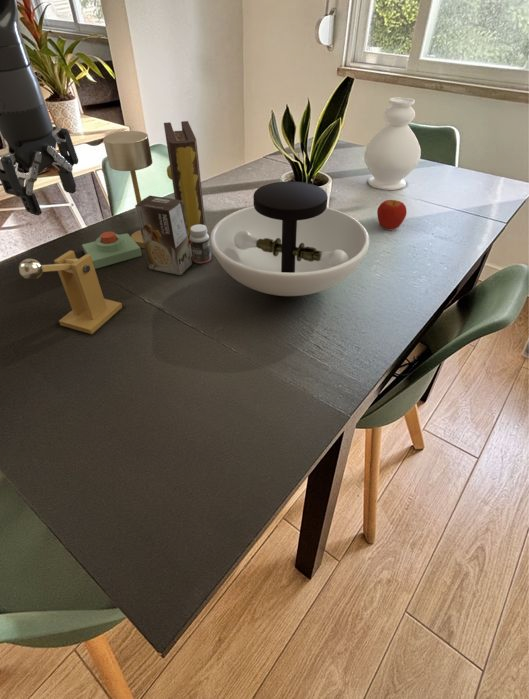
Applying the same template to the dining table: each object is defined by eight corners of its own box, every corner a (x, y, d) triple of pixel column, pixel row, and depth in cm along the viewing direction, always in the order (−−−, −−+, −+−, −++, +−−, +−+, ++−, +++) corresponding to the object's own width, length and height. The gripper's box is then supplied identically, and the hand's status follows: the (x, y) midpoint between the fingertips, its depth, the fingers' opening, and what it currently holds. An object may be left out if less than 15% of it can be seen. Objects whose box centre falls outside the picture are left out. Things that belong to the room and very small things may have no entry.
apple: (402, 222, 122) (407, 195, 117) (403, 234, 116) (410, 207, 111) (374, 220, 123) (379, 193, 118) (375, 232, 117) (379, 205, 112)
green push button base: (95, 269, 104) (90, 254, 101) (84, 252, 110) (79, 238, 108) (142, 255, 109) (138, 241, 106) (129, 240, 115) (125, 226, 113)
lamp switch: (30, 282, 71) (29, 261, 70) (14, 278, 72) (13, 257, 71) (87, 276, 83) (88, 257, 82) (73, 272, 84) (73, 254, 83)
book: (211, 241, 115) (202, 141, 98) (180, 245, 113) (164, 144, 97) (200, 208, 131) (190, 118, 114) (172, 211, 129) (158, 120, 113)
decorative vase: (423, 182, 146) (443, 99, 129) (396, 197, 136) (414, 109, 119) (378, 170, 155) (391, 91, 138) (350, 183, 145) (360, 100, 129)
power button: (104, 245, 105) (102, 239, 104) (100, 240, 108) (98, 233, 107) (118, 242, 107) (117, 235, 106) (114, 236, 109) (112, 230, 108)
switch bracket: (91, 334, 85) (70, 274, 76) (60, 325, 87) (36, 266, 78) (122, 307, 92) (106, 249, 83) (92, 299, 94) (73, 242, 85)
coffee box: (193, 263, 106) (184, 199, 95) (180, 276, 101) (169, 211, 91) (161, 257, 108) (149, 194, 98) (147, 269, 104) (133, 205, 93)
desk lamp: (135, 253, 110) (110, 145, 93) (123, 238, 116) (97, 135, 99) (171, 243, 114) (154, 138, 97) (157, 229, 120) (138, 128, 103)
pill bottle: (188, 260, 107) (183, 229, 101) (200, 252, 110) (197, 221, 104) (202, 265, 105) (199, 234, 99) (215, 257, 108) (212, 226, 102)
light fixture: (221, 339, 84) (211, 239, 70) (210, 256, 108) (202, 171, 94) (382, 321, 87) (403, 224, 73) (336, 246, 112) (346, 162, 98)
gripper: (32, 83, 69) (65, 181, 80) (-43, 111, 60) (6, 216, 71) (69, 90, 67) (97, 189, 78) (-3, 120, 58) (40, 227, 70)
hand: (53, 202), depth 75 cm, fingers open, 8 cm apart
